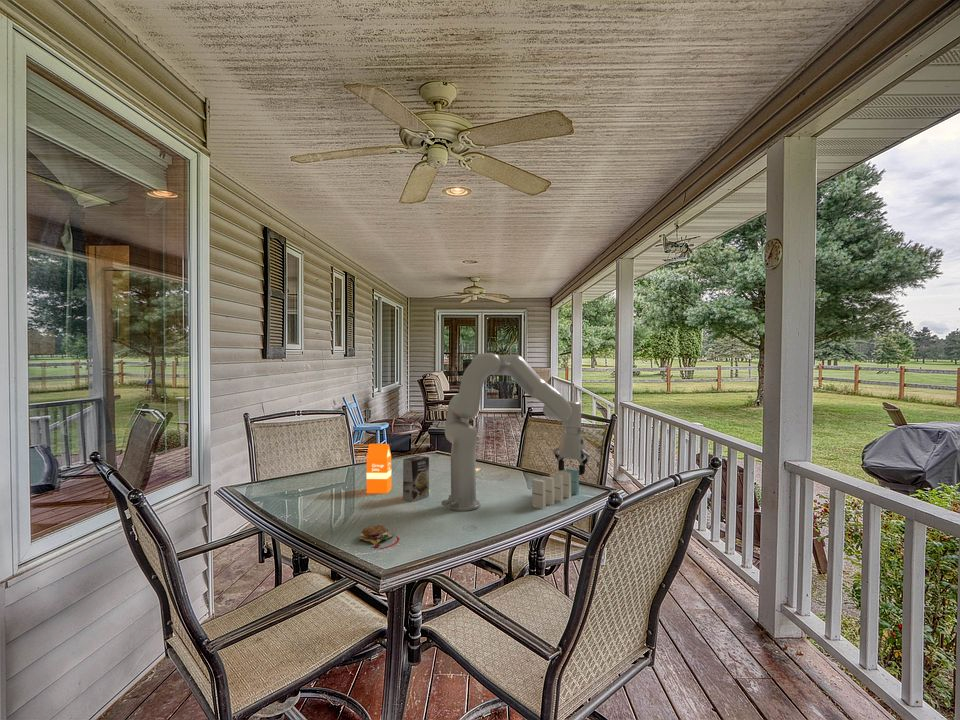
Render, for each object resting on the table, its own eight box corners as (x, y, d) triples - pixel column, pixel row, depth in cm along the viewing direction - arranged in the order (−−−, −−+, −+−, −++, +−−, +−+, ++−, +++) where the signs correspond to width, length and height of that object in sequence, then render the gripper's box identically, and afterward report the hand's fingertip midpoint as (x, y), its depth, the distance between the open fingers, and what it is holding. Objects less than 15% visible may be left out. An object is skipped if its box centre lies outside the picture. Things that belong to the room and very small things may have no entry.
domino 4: (569, 498, 180) (568, 473, 180) (558, 495, 183) (558, 471, 183) (571, 497, 181) (571, 472, 181) (560, 494, 184) (560, 470, 184)
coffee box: (413, 502, 176) (413, 460, 177) (402, 499, 180) (402, 458, 180) (429, 496, 184) (429, 456, 184) (418, 493, 188) (418, 455, 188)
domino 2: (552, 505, 171) (552, 478, 171) (541, 502, 174) (541, 476, 175) (554, 504, 172) (554, 478, 172) (543, 501, 176) (543, 475, 176)
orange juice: (371, 488, 197) (371, 442, 197) (391, 488, 196) (391, 442, 197) (366, 493, 189) (366, 445, 189) (387, 493, 189) (387, 445, 189)
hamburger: (342, 545, 135) (342, 525, 136) (376, 530, 147) (376, 512, 147) (375, 555, 128) (375, 534, 128) (409, 539, 140) (408, 519, 140)
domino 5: (576, 494, 184) (576, 470, 184) (566, 492, 188) (566, 468, 188) (578, 494, 185) (578, 469, 185) (568, 491, 189) (568, 467, 189)
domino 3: (560, 501, 175) (560, 475, 176) (550, 499, 179) (549, 473, 179) (563, 500, 177) (562, 475, 177) (552, 498, 180) (552, 473, 180)
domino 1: (543, 509, 167) (542, 481, 167) (532, 506, 170) (531, 479, 170) (545, 507, 168) (545, 481, 168) (534, 505, 171) (534, 478, 171)
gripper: (595, 432, 184) (594, 474, 183) (558, 428, 195) (558, 467, 195) (585, 434, 178) (585, 477, 178) (549, 429, 190) (548, 470, 190)
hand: (571, 472), depth 186 cm, fingers open, 9 cm apart
